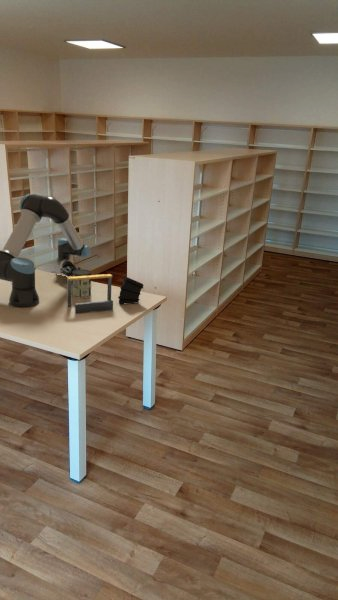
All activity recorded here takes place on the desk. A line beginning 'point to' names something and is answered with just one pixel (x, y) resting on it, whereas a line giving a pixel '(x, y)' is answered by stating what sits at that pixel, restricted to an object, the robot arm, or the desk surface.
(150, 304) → the desk surface
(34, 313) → the desk surface
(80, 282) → the coffee can
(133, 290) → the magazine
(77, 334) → the desk surface
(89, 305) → the retention bracket
